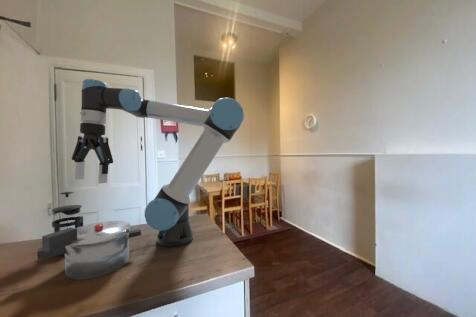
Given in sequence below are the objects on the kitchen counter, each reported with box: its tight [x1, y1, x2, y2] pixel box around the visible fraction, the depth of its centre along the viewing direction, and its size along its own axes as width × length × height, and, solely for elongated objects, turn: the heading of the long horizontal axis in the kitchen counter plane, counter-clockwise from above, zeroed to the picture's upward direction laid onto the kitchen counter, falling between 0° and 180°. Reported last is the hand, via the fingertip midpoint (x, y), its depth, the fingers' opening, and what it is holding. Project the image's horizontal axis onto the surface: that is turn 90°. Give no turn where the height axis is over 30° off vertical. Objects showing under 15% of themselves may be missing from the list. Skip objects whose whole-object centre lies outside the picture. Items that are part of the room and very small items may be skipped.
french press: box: [51, 191, 84, 257], centre depth 80 cm, size 12×9×23 cm
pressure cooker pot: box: [37, 228, 142, 280], centre depth 69 cm, size 28×18×10 cm, turn 127°
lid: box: [41, 220, 131, 252], centre depth 67 cm, size 24×19×5 cm
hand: (90, 181), depth 74 cm, fingers open, 13 cm apart
